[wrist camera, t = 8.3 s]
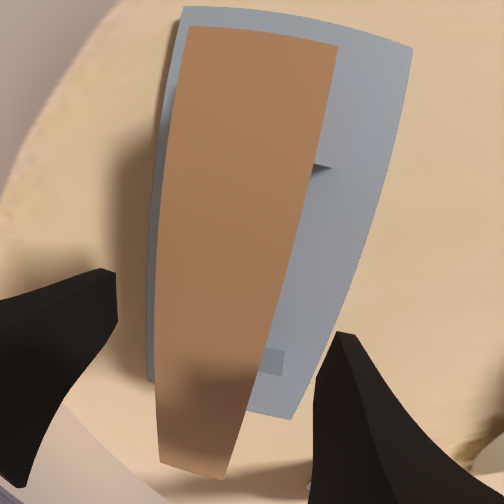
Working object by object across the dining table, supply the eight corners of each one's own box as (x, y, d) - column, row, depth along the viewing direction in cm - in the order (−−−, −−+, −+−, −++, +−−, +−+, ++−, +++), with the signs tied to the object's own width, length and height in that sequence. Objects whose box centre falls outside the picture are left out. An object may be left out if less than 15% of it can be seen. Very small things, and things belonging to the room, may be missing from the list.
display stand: (292, 408, 20) (288, 443, 17) (153, 371, 20) (136, 401, 18) (406, 52, 11) (429, 38, 8) (191, 12, 11) (165, -9, 9)
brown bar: (242, 405, 16) (222, 481, 12) (185, 389, 16) (153, 459, 12) (323, 80, 9) (338, 46, 5) (230, 63, 10) (176, 25, 5)
